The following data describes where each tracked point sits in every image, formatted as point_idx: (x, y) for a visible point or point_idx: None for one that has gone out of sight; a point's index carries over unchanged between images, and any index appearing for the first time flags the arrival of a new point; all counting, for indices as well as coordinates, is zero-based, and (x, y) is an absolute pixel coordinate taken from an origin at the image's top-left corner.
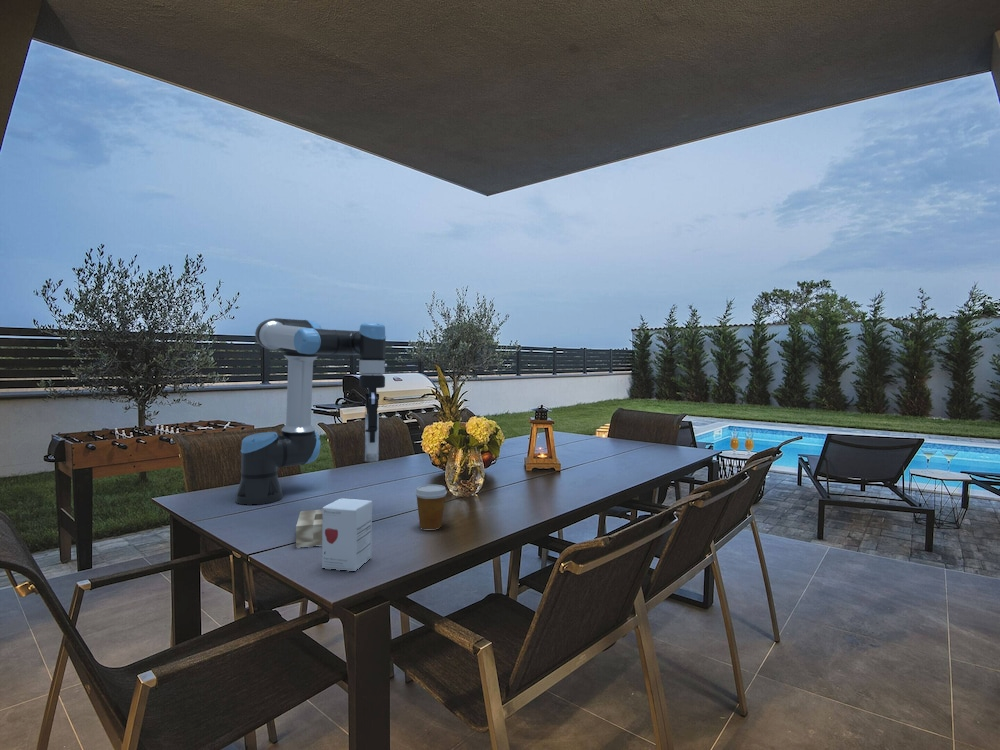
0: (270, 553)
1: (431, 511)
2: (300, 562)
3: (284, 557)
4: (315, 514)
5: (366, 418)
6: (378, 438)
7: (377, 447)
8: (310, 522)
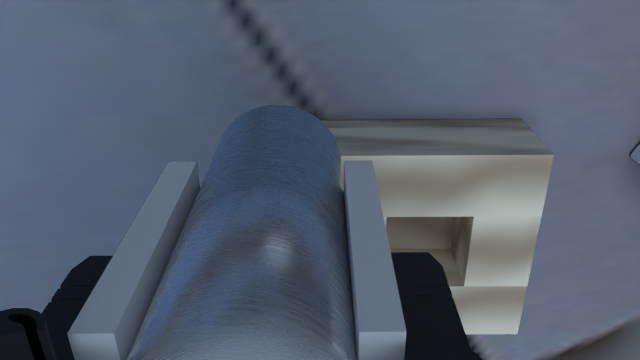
0: (506, 336)
1: None
2: (624, 260)
3: (558, 302)
4: None
5: None
6: (276, 220)
7: (314, 175)
8: (492, 295)
